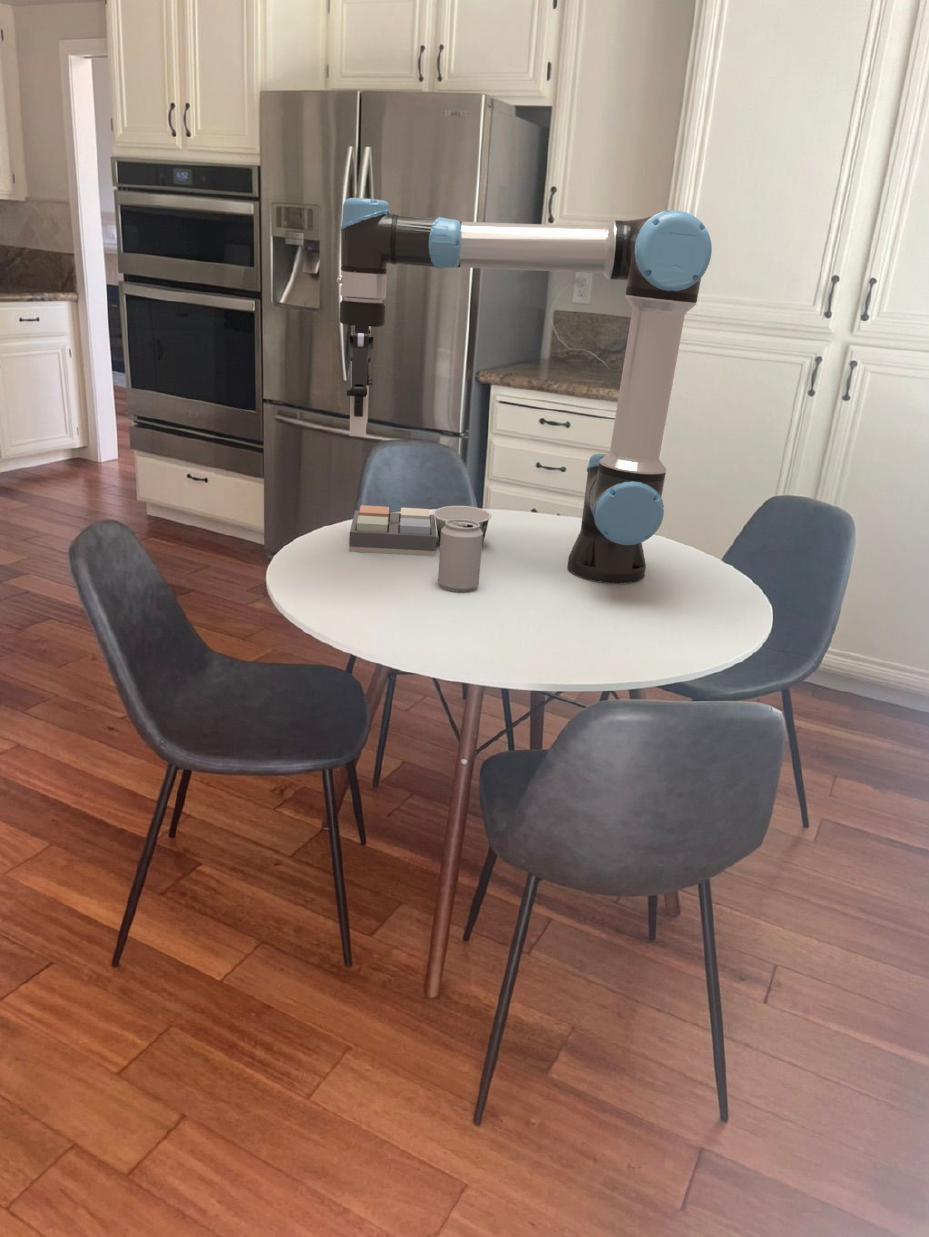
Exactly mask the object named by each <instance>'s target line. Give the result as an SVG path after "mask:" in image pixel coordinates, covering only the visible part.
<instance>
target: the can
mask: <svg viewBox="0 0 929 1237" xmlns="http://www.w3.org/2000/svg"><path fill="white" fill-rule="evenodd" d="M445 524H446V525H445V526H444V527H443V528H442V529H441V540H440V545H439V559H438V575H437V582H438V584H439V585H441V587H442V588H443V589H445V590H447V591H452V592H460V593H463V592H470V591H472V590H475V588H476V587H478V586H479V585H480V575H481V574H480V572H481V560H482V552H483V551H482V548H483V546H482V538H483V532H482V531H481V529H480V528H479V527H480V524H479V523H478V522H476V521H473V520H468V519H450V520H447V521H446V522H445Z"/></svg>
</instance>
